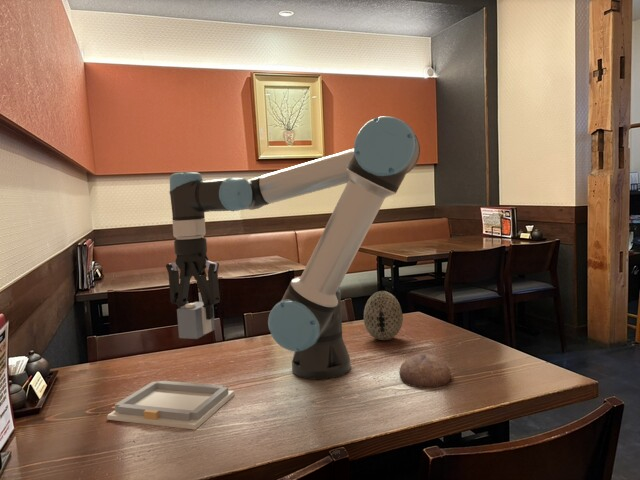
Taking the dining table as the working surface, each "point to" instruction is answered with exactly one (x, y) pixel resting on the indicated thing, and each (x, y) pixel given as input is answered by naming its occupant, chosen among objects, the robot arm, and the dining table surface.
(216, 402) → the board
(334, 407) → the dining table surface
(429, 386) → the brown dome
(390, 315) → the decorative egg
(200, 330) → the block
